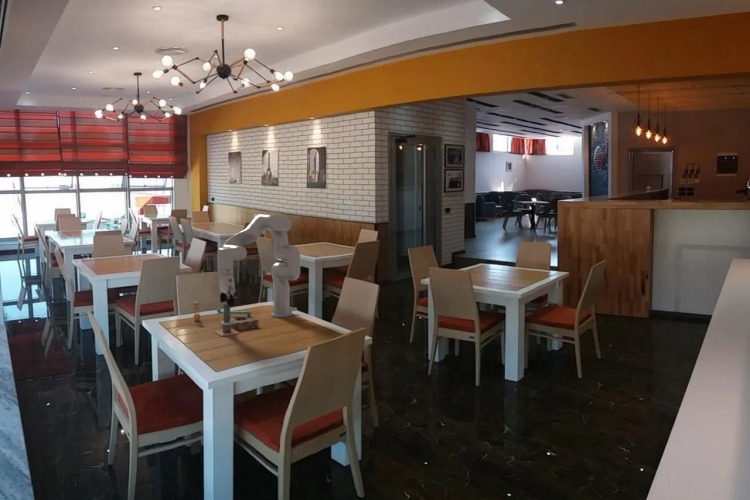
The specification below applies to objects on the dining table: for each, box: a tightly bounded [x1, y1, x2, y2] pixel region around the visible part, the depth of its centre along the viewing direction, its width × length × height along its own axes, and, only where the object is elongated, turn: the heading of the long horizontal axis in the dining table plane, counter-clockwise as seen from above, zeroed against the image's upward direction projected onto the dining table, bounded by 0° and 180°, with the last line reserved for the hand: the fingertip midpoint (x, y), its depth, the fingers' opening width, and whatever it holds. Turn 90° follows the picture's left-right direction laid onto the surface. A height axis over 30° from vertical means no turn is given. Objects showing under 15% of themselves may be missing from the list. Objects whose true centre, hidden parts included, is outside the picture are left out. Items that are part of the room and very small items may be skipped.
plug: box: [220, 303, 233, 333], centre depth 299 cm, size 6×6×14 cm
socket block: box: [230, 313, 259, 331], centre depth 314 cm, size 14×14×5 cm
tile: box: [213, 329, 241, 337], centre depth 300 cm, size 10×10×1 cm
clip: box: [216, 307, 252, 315], centre depth 319 cm, size 19×2×3 cm, turn 93°
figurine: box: [188, 300, 205, 322], centre depth 323 cm, size 8×6×12 cm
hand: (227, 303), depth 299 cm, fingers open, 9 cm apart
